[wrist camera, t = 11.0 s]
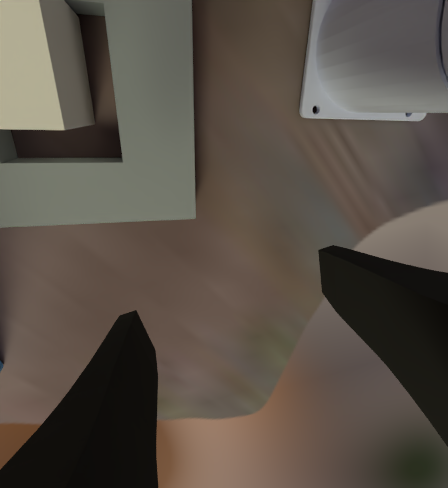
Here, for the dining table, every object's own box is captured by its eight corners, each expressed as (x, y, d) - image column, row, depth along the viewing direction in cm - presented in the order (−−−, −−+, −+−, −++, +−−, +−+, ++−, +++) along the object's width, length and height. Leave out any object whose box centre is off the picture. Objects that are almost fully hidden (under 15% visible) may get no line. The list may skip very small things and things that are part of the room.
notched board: (186, -65, 14) (190, -91, 12) (192, 209, 20) (195, 218, 18) (-172, -119, 11) (-235, -163, 9) (-41, 218, 17) (-64, 230, 15)
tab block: (78, 17, 14) (31, -39, 9) (95, 124, 16) (64, 130, 11) (12, 11, 14) (-82, -53, 8) (38, 123, 16) (-23, 128, 10)
